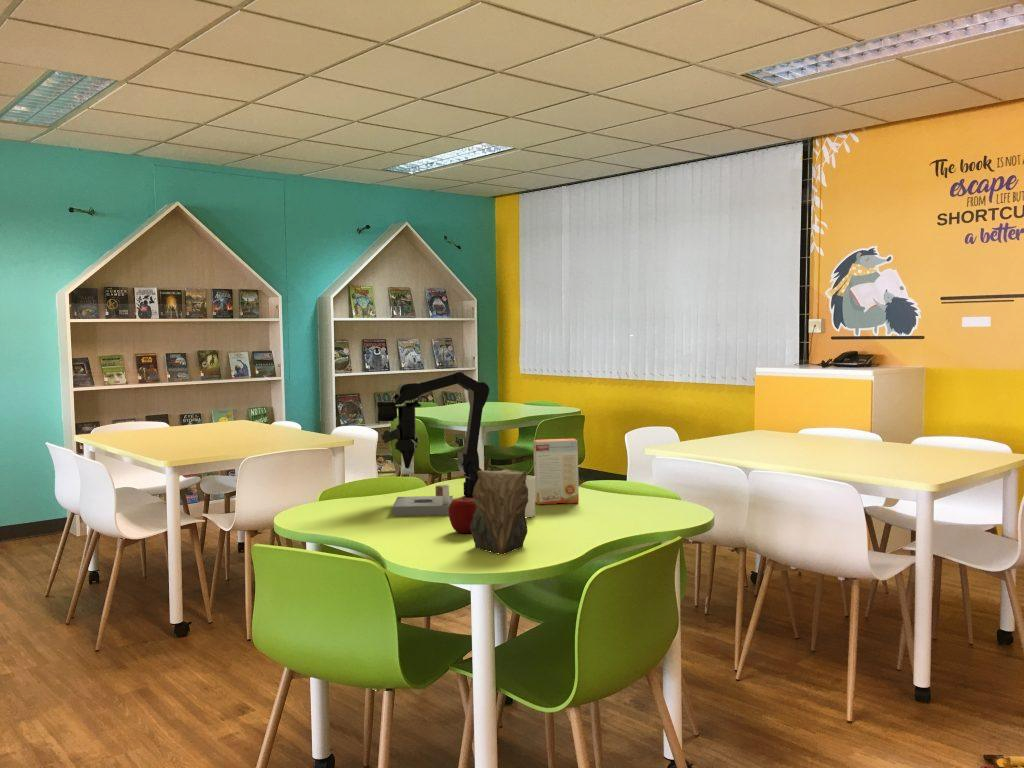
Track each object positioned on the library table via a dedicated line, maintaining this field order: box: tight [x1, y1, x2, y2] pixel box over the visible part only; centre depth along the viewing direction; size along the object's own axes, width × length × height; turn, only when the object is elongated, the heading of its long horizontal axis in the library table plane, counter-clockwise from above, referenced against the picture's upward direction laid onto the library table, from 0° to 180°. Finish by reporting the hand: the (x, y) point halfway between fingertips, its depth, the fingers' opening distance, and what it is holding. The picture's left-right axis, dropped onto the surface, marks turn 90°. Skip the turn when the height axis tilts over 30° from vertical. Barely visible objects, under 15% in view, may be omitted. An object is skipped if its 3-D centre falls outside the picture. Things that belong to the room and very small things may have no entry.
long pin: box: [400, 452, 415, 475], centre depth 281 cm, size 4×4×9 cm
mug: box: [525, 474, 536, 518], centre depth 256 cm, size 10×7×12 cm, turn 109°
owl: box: [470, 468, 528, 555], centre depth 220 cm, size 13×13×20 cm
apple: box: [448, 496, 477, 534], centre depth 237 cm, size 10×10×10 cm
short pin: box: [434, 484, 444, 496], centre depth 282 cm, size 4×4×5 cm
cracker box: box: [533, 437, 580, 506], centre depth 276 cm, size 14×6×21 cm, turn 97°
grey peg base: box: [391, 484, 454, 517], centre depth 267 cm, size 18×16×9 cm
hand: (407, 467), depth 281 cm, fingers closed on long pin, 4 cm apart
